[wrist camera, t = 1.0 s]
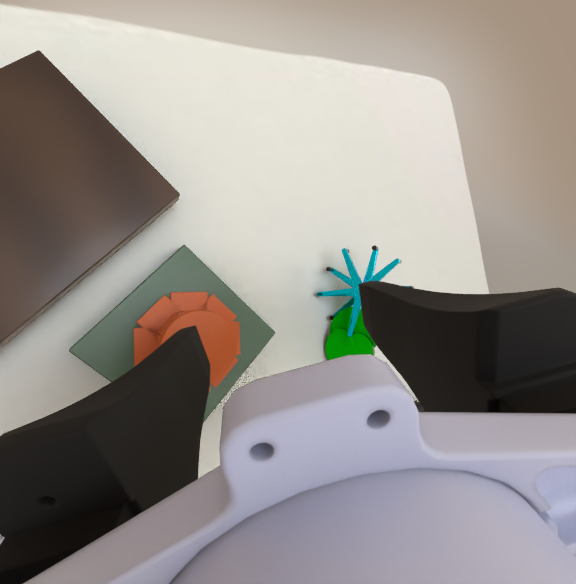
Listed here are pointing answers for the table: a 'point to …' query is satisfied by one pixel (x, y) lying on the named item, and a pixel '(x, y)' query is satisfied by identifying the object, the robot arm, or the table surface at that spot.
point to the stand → (62, 190)
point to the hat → (185, 313)
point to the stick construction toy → (352, 311)
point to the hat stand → (169, 278)
